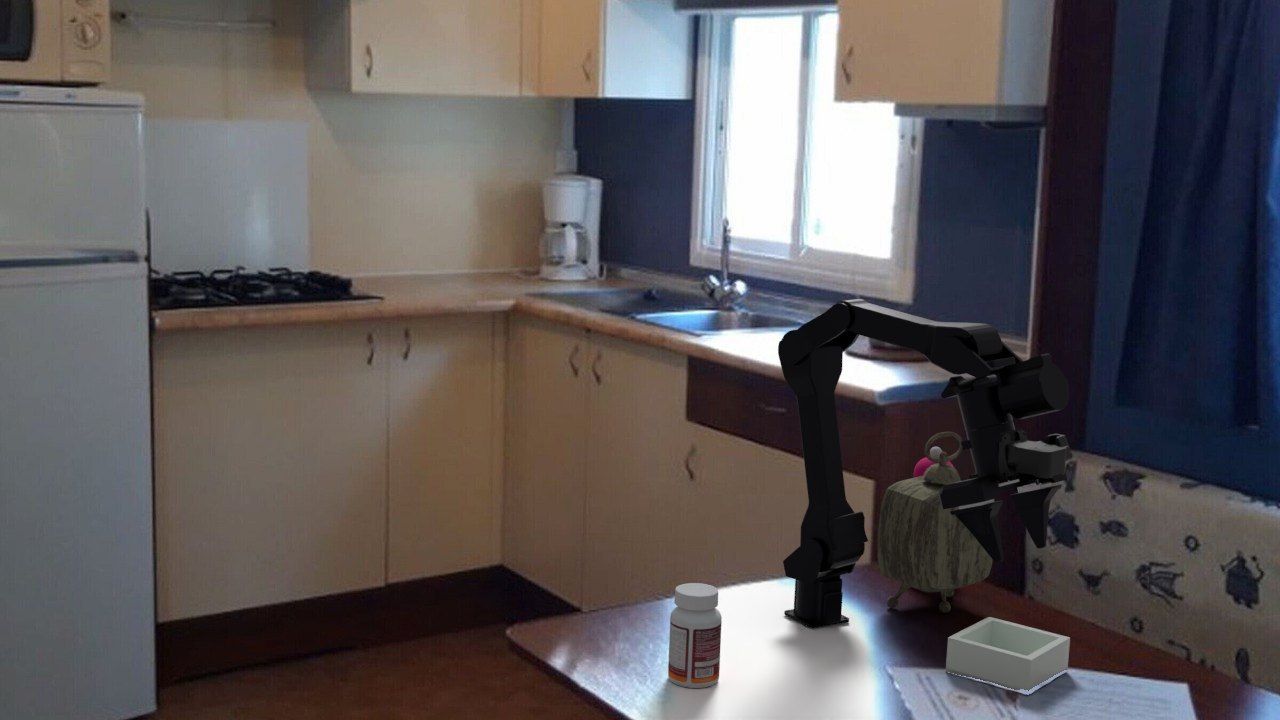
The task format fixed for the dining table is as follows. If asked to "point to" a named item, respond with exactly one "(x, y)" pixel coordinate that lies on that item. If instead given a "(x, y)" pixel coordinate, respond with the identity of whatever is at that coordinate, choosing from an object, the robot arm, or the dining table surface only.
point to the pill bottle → (695, 636)
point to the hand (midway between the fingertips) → (1020, 554)
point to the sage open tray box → (1007, 654)
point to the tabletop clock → (928, 535)
